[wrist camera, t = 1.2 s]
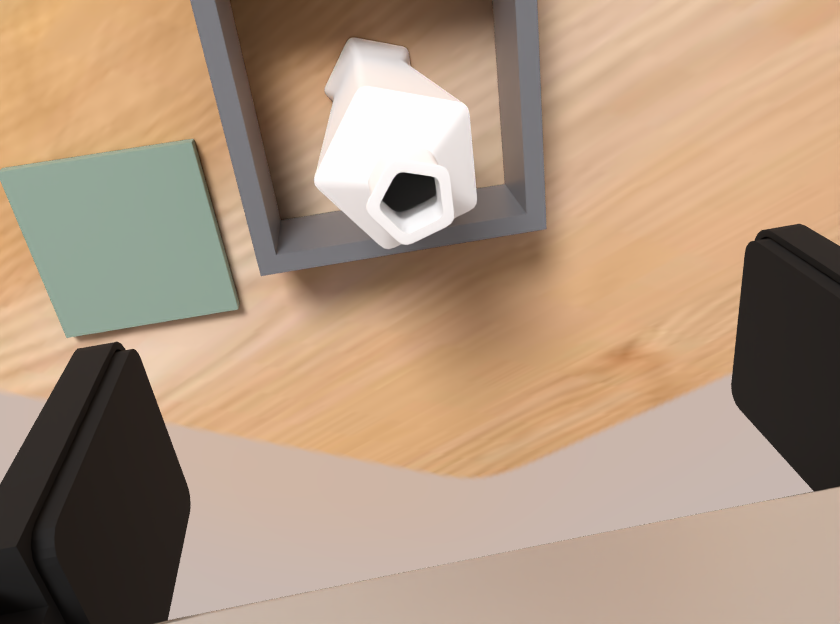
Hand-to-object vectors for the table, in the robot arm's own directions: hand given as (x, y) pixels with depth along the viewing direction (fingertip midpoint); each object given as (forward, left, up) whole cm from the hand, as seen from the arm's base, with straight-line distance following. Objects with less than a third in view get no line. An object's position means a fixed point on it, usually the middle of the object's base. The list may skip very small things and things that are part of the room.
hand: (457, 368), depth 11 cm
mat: (+12, +5, -22) cm, 25 cm away
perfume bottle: (0, 0, -22) cm, 22 cm away
